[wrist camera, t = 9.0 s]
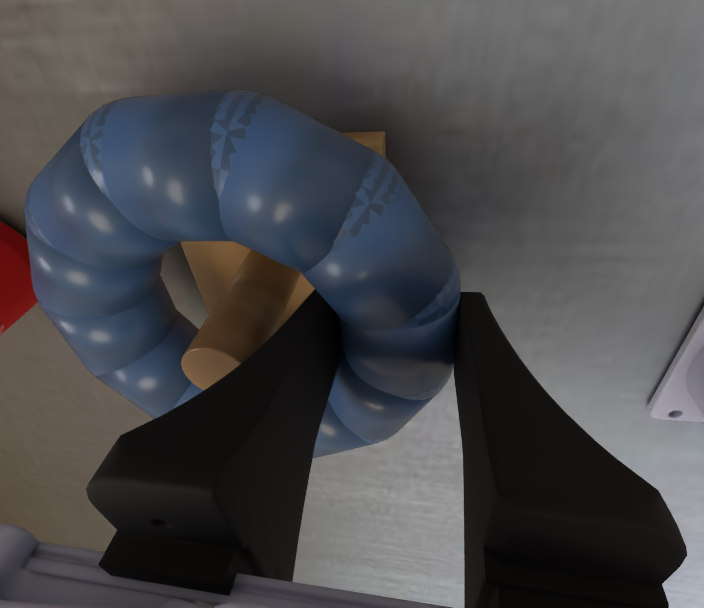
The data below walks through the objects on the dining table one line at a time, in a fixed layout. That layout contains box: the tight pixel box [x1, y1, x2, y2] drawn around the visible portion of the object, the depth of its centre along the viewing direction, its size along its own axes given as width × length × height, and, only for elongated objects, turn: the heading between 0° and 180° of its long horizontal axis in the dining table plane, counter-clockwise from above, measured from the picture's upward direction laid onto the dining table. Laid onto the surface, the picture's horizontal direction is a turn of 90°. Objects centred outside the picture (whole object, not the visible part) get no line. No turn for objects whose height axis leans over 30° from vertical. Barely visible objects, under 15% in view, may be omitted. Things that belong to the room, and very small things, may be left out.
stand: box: [181, 131, 386, 390], centre depth 14 cm, size 8×8×7 cm
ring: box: [24, 90, 460, 458], centre depth 13 cm, size 13×13×3 cm
